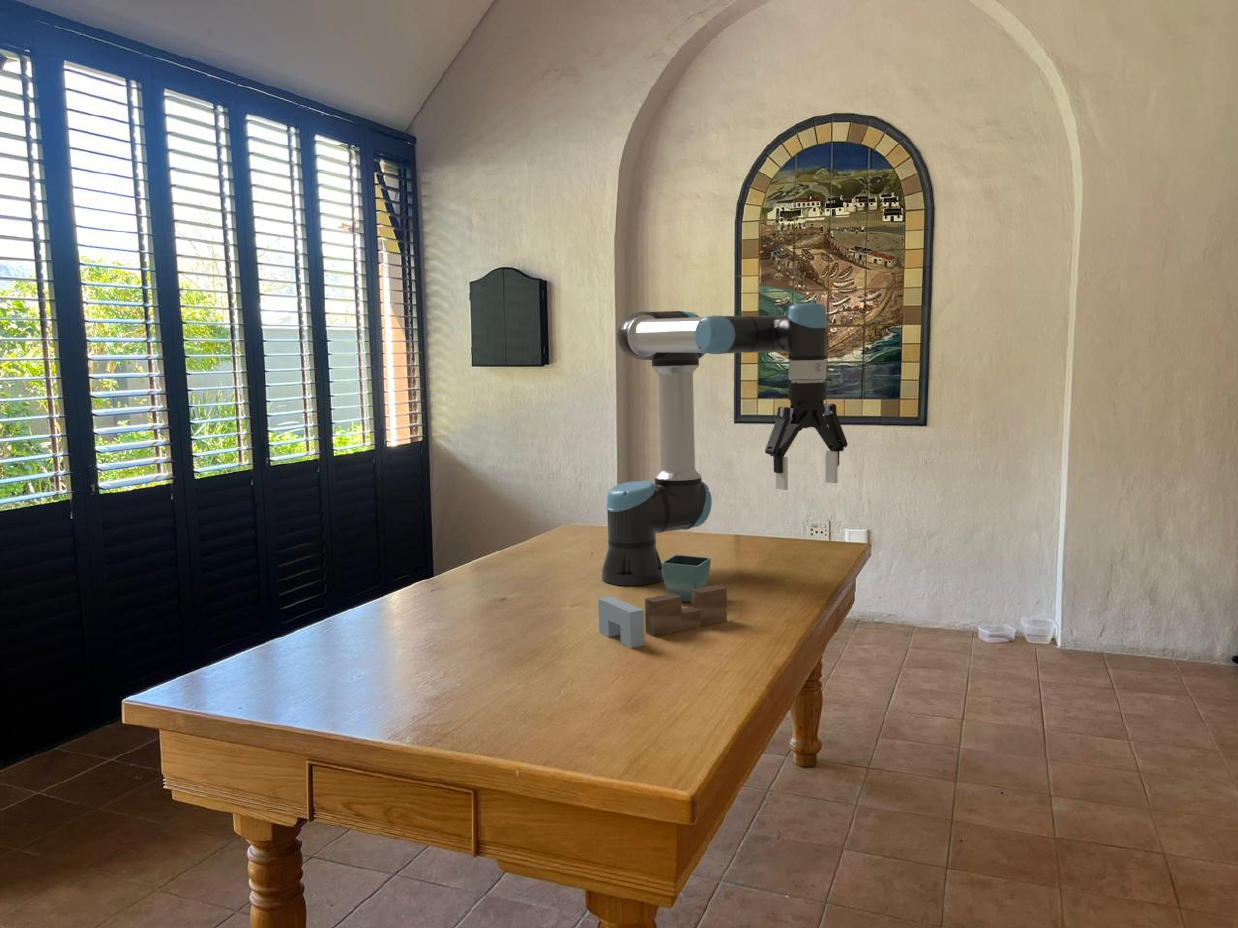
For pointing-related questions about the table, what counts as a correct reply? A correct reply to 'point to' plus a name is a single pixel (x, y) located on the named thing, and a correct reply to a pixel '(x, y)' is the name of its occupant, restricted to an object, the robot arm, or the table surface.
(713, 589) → the walnut notched block
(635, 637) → the light blue notched brick
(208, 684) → the table surface
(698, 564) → the flower pot
